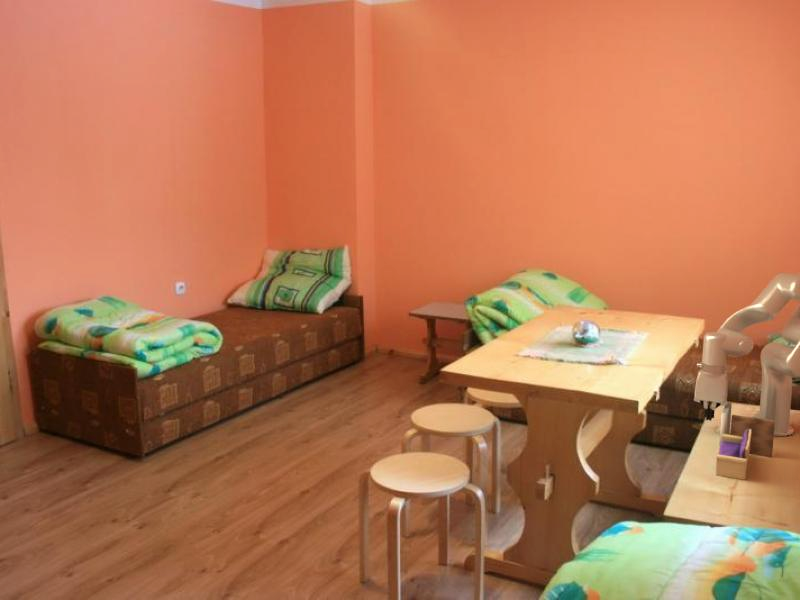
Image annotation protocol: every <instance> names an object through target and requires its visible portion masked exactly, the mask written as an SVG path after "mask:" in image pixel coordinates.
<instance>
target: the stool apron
mask: <svg viewBox="0 0 800 600" xmlns="http://www.w3.org/2000/svg"><path fill="white" fill-rule="evenodd" d="M774 425H775V420H767V419H760V418H754V417H753V416H743V415H738V414H737V415H736V414H731V421H730V435H734V436H740V437H743V435H744V432H745V430H747V429H751V430H752V432H751V443H750V454H749V455H754V456H761V457H766V458H773V452H774V450H773V449H774V437H775V436H774Z"/></svg>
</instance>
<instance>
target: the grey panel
mask: <svg viewBox="0 0 800 600" xmlns="http://www.w3.org/2000/svg"><path fill="white" fill-rule="evenodd" d="M732 404H733V403H732V402H731V401H727V405H726V406H723V410H722V412H721V413H720V429H719V446H720V445H721V442H722V435H723V434H728V435H730V434H731V420H732V406H733V405H732Z"/></svg>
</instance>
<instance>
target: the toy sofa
mask: <svg viewBox="0 0 800 600" xmlns="http://www.w3.org/2000/svg"><path fill="white" fill-rule="evenodd" d="M751 432H752V430H751V429H747V430H745V432H744V435H743V437H740V436H734V435H731V434H729V435H728V434H723V435H722V442H721V445H719V449H718V454H716V463H715V476H719V477H720V476H721V477H727V478H731V479H738V480H747V468H748V460H749V458H750V455H751V454H750V443H751Z"/></svg>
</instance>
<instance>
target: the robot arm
mask: <svg viewBox="0 0 800 600" xmlns="http://www.w3.org/2000/svg"><path fill="white" fill-rule="evenodd" d="M790 300H793V301H794V300H795V301H797V302H799V303H798V304H797V306H796V308H795V309H794V310H793V312H792V314H791V315H790V316H789V318H788V319H787V321H786V322H785V324H784V325H783V327H782V329H781V332H780V334H781V337H782V339H783V340H784V341H786V342H788V343H790V344H792V345H794V346H791V345H788V344H785V343H781V342H770V343H767V344H766V345H764V346H763V348H762V349H761V352H760V357H759V359H760V365H761V387H760V388H761V389H760V400H759V401H760V402H759V411H757V412H755V413H753V416H752V417H753V418H760V419H767V420H775V425H774V437H788V436H787V435H789V436H791V434H792V435H793V434H794V433H795V432H794V428H793V427H792V426H790V420H791V419H790V417H791V416H790V415H791V404H792V392H793V379H792V378H800V272H798V273H797V274H796V273H790V272H782V273H781V272H780V273H778V274H776V275H775V276H774V277H773V278H772V279H771V280H770V281H769V283H768V284H767V285H766V286H765V288H764V289H762V291H761V292H760V293H759V295H757V297H756V298H755V299H754V301H753V302H752V303H750V304H749V305H747V306H745V307H743V308H742V309H740V310H737V311H736V312H734V313H733V314H731V315H730V316H728V318H727V319H726V320H725V321H724V322H723V323H722V324H721V325H720V327H718V329H717V331H711V332H710V331H709V332H706V333H705V334H704V336H703V343H702V357H701V362H698V363H696V367H697V368H699V370H698V372H697V376H696V381H695V387H694V397H693V401H694V402H697V403H699V404H700V405H702V406H703V408H704V417H705V421H708V422H711V421H712V419H714V418H715V410H716V409H717V408H719V407H725V406H726V405H727V402H728V393H729V392H728V388H729V387H728V384H729V383H728V373H727V372H726V363H727V355H731V356H739V357H741V356H746V355H748V354H750V353H752V351H753V349H754V345H755V344H754V341H753V339H752V338H751V337H750V336H749V335H747V334H745V333H742V332H743V331H745V329H747V328H748V327H750V326H753V325H757V324H760V323H764V322H768V321H771V320H774V319H775V318H776V316H778V314H779V313H780V312H781V311H782V309H784V308H785V306H786V305H787V304H788V303H789V302H790ZM709 402H710V403H711V402H712V404H711V406H710V404H709ZM793 432H794V433H793Z"/></svg>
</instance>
